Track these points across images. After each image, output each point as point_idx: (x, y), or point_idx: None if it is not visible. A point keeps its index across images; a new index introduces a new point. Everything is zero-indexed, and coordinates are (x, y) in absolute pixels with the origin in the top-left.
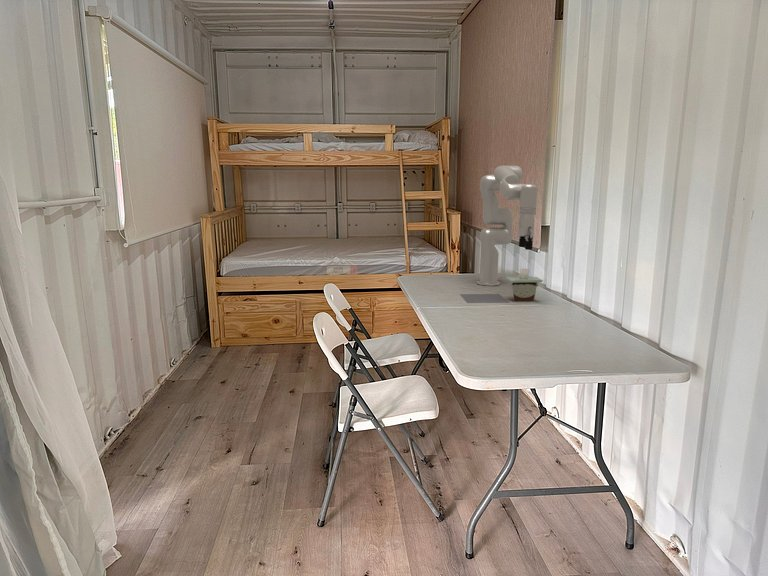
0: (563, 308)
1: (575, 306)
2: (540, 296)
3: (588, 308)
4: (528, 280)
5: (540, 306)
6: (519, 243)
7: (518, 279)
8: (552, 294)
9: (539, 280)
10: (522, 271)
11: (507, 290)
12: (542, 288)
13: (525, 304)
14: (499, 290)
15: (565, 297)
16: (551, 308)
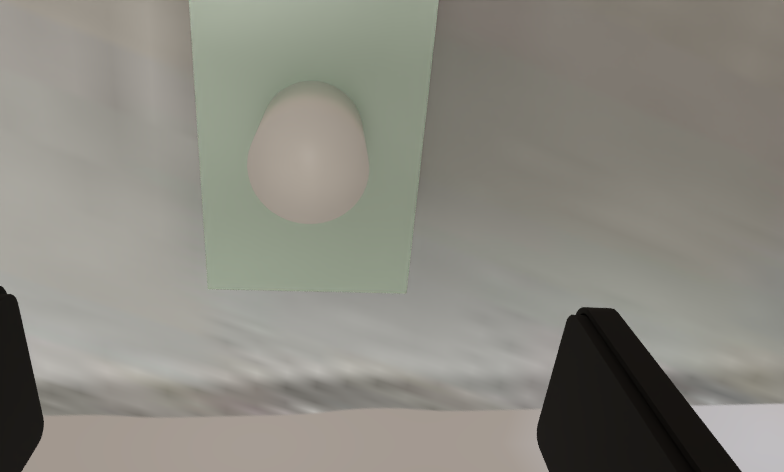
0: (63, 278)
1: (135, 367)
2: (461, 270)
3: (82, 413)
4: (200, 143)
5: (117, 146)
6: (621, 363)
7: (253, 41)
8: (505, 362)
9: (207, 259)
10: (263, 120)
11: (731, 107)
12: (696, 367)
13: (187, 52)
14: (758, 37)
15: (404, 401)
16: (53, 200)
